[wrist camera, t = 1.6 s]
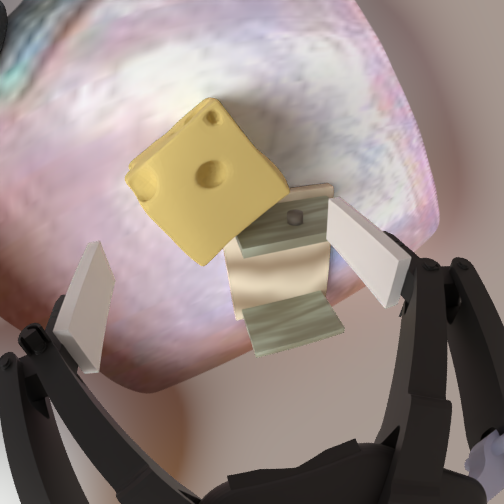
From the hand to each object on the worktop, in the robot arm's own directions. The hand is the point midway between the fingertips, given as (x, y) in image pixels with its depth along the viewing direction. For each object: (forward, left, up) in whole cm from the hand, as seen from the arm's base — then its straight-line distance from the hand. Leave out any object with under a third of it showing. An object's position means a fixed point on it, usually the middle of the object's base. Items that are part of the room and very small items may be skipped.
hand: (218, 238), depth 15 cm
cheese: (0, 0, -17) cm, 17 cm away
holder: (+14, +8, -17) cm, 23 cm away
